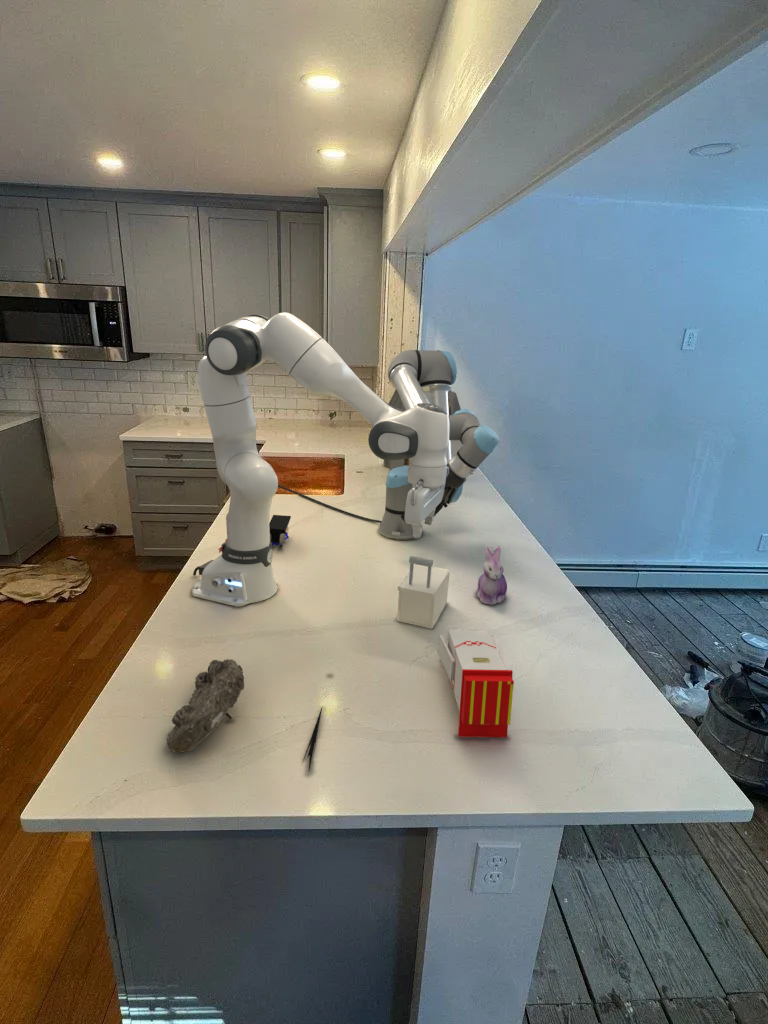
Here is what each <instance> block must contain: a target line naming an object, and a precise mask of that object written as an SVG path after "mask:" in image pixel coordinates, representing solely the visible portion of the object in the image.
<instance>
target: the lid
mask: <svg viewBox="0 0 768 1024" xmlns="http://www.w3.org/2000/svg"><path fill="white" fill-rule="evenodd" d="M408 563H409V572H408V573H407V574H406V575H405V577H404V578H403V579H402V581H401V582H400V583H399V585H398V587H397V591H398V592H399V591H404V592H408V593H413V594H418V595H422V596H427V597H432V598H434V597H435V596H436V594H437V592H438V591H439V589H440V588H441V586H442V584H443V583H444V581H445V579H446V578H447V576H448V575H449V576H450V573H451V572H450V571H451V570H450V569H447V568H444V567H443V568H442V567H438V566H433V564H434V560H433V559H429V558H424V557H419V556H414V555H410V556H409V558H408Z"/></svg>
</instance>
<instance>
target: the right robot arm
mask: <svg viewBox="0 0 768 1024" xmlns="http://www.w3.org/2000/svg"><path fill="white" fill-rule="evenodd" d="M457 374H458V367H457V362H456V359H455V357H454V355H453V354H452V353H451V352H450V351H446V350H440V349H436V350H428V349H427V350H426V349H407V350H403V351H400V352H399V353H398V354H397V355H395V356H394V358H392V360H391V361H390V363H389V365H388V369H387V378H388V381H389V383H390V386H391V387H392V388H393V389H395V390H396V389H397V391H398V393H399V396H400V398H401V400H402V402H403V404H404V407H405V409H406V410H409V409H410V408H412V407H414V406H415V405H416V404H419V403H427V404H432V405H436V406H439V407H441V408H443V409H444V410H445V411H446V413H447V414H448V417H449V427H450V430H449V445H448V449H447V452H446V459H447V467H449V474H448V476H447V477H446V482H445V488H444V494H443V498H442V501H441V502H440V503H439V504H438V506H437V507H436V509H435V513H434V517H433V519H434V518H435V517H436V515H438V514H439V512H440V511H441V510H442V509H443V508H448V506H449V505H450V504H453V503H454V504H455V503H456V502H457V501H459V500H460V497H461V495H462V492H463V489H464V484H465V482H466V481H467V479H469V477H470V476H473V475H474V472H476V469H478V468H479V467H480V465H481V464H482V463H483V462H484V461H485V460H486V459H487V457H489V455H490V454H492V453H493V451H494V450H495V448H496V447H497V446H498V444H499V443H500V437H499V435H498V434H497V433H496V432H495V430H493V428H491V427H489V426H488V425H485V424H481V423H480V420H479V419H478V417H477V416H476V415H475V413H474V412H473V411H472V410H470V409H469V408H461V410H459V411H456V412H455V413H454V414H453V415H449V409H448V392H449V391H450V390H452V389H453V388H452V385H454V384H455V383H456V380H457ZM450 440H460V441H461V443H462V447H461V448H460V450H458V452H457V453H456V454H455V455H454V456H453V457H452V459H451V444H450ZM278 488H280V489H282V490H285V491H288V492H290V493H293V494H295V495H298V496H300V497H303V498H305V499H307V500H310V501H312V502H314V503H316V504H319V505H322V506H323V507H327V508H330V509H331V510H334V511H337V512H340V513H343V514H345V515H349V516H352V517H354V518H356V519H357V518H358V519H361V520H365V521H368V522H371V523H372V522H373V523H377V524H378V523H379V526H378V533H379V534H380V535H381V536H382V537H385V538H387V539H389V540H395V541H410V540H415V539H416V538H414V537H413V529H412V525H411V524H407V523H406V522H405V508H406V500H407V495H408V492H409V491H410V490H411V489H412V488H413V484H411V483H409V482H408V466H407V465H404V466H401V467H397V468H394V469H392V470H390V469H389V470H388V472H387V475H386V480H385V504H384V505H385V507H384V508H385V509H384V513H383V515H382V519H381V520H379V519H375V518H374V519H373V518H368V517H365V516H362V515H358V514H355V513H352V512H348V511H346V510H343V509H341V508H338V507H336V506H332V505H330V504H327V503H325V502H322V501H319V500H317V499H315V498H313V497H310V496H308V495H305V494H303V493H300V492H298V491H297V490H293V489H290V488H288V487H285V486H283V485H280V484H278ZM421 529H422V530H423V525H421Z"/></svg>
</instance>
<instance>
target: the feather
mask: <svg viewBox="0 0 768 1024" xmlns="http://www.w3.org/2000/svg"><path fill="white" fill-rule="evenodd" d="M329 675H330V676H331V675H332V674H331V673H330V674H329ZM322 710H323V707H321V708H320V710H319V713H318V716H317V719H316V723H315V725H314V728H313V731H312V733H311V737H310V739H309V742H308V745H307V748H306V751H305V754H304V757H303V760H302V763H301V767H302V765H303V763H304V761H305V758H308V759H309V760H308V762H307V763H308V764H307V766H308V771H310V770H311V766H312V765H311V764H312V760H313V757H315V756H314V755H315V751H316V749H315V746H317V739H318V733H319V729H320V722H321V717H322V712H323V711H322ZM313 754H314V755H313ZM306 755H307V757H306Z"/></svg>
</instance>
